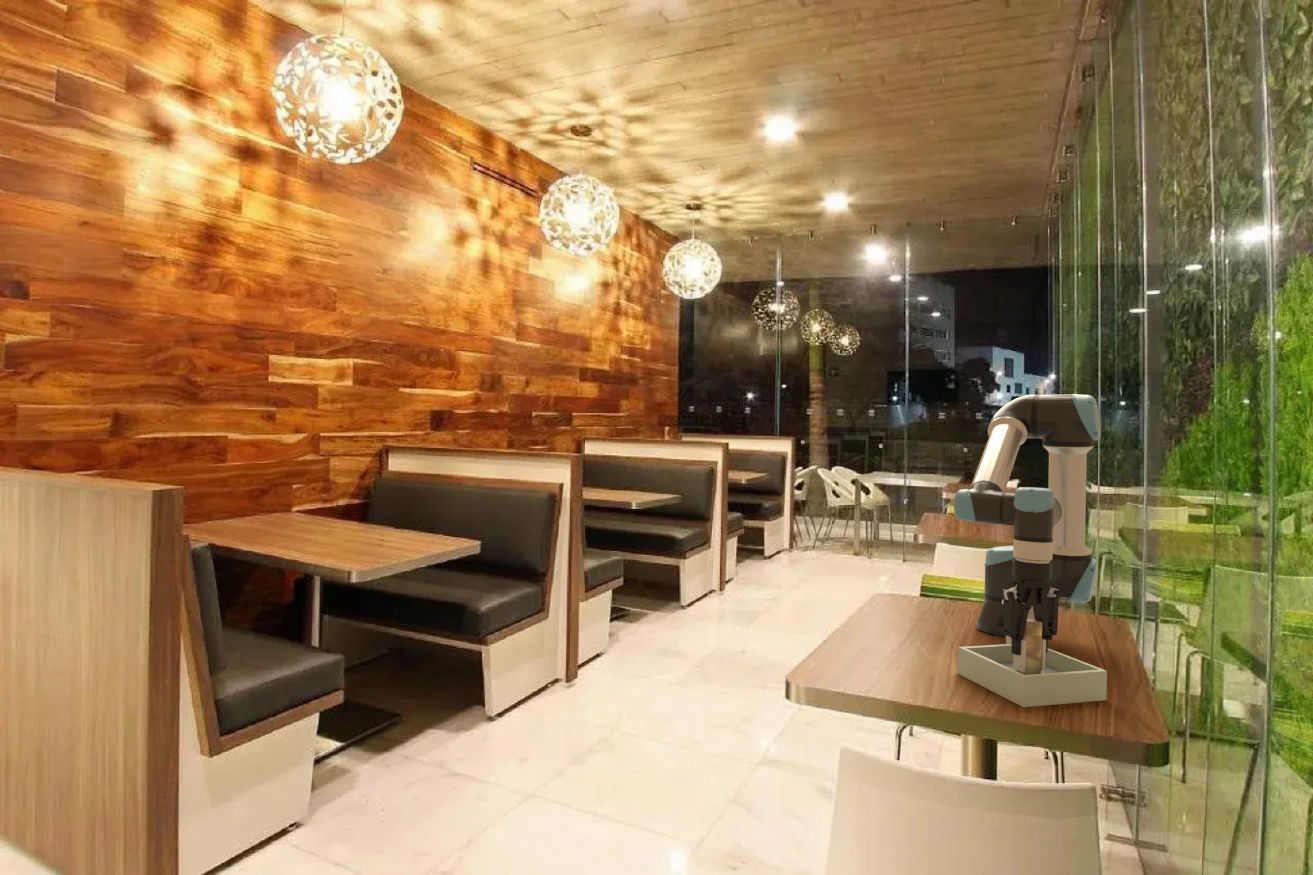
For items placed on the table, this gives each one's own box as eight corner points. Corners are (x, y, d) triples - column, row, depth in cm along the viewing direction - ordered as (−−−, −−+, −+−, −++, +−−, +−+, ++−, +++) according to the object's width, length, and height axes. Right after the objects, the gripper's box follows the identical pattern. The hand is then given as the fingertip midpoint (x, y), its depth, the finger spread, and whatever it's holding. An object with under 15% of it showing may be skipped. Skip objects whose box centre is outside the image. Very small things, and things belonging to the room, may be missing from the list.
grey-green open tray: (1033, 668, 169) (1033, 642, 169) (1106, 700, 149) (1107, 670, 149) (957, 673, 164) (958, 647, 164) (1023, 707, 144) (1024, 676, 144)
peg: (1029, 682, 159) (1031, 618, 159) (1045, 689, 155) (1047, 623, 155) (1012, 683, 158) (1014, 619, 158) (1027, 691, 154) (1029, 624, 154)
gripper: (1052, 556, 162) (1049, 661, 162) (985, 557, 158) (982, 665, 158) (1080, 562, 155) (1076, 672, 155) (1010, 564, 150) (1007, 677, 151)
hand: (1029, 668), depth 156 cm, fingers closed on peg, 4 cm apart
